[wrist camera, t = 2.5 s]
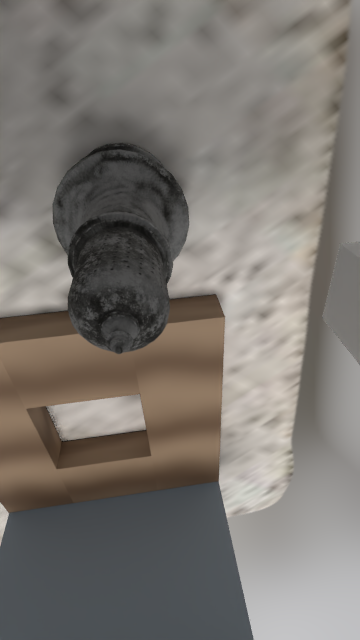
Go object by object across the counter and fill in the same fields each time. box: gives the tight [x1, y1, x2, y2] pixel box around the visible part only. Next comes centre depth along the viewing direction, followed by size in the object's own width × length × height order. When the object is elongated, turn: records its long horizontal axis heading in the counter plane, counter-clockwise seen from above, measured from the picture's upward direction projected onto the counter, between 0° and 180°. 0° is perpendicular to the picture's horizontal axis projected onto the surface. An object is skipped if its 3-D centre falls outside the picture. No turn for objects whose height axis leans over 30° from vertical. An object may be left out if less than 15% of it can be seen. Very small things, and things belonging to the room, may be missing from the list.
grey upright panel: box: [0, 481, 253, 640], centre depth 25 cm, size 4×20×18 cm, turn 93°
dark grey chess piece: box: [53, 143, 189, 354], centre depth 13 cm, size 6×6×12 cm
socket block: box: [0, 295, 225, 513], centre depth 26 cm, size 19×19×2 cm
